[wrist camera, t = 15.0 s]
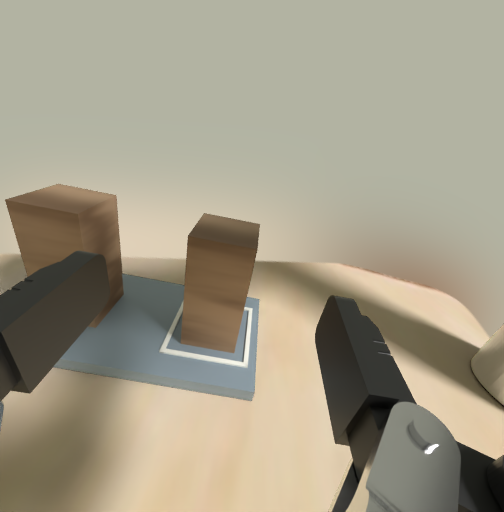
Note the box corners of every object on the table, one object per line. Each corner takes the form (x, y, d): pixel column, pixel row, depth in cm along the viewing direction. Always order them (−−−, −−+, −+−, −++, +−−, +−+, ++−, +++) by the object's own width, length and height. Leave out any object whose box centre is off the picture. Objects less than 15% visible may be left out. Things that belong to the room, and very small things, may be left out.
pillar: (194, 307, 27) (204, 213, 22) (239, 316, 27) (259, 224, 22) (180, 343, 23) (187, 235, 18) (234, 353, 23) (257, 249, 18)
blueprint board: (80, 273, 30) (78, 264, 30) (257, 306, 31) (259, 298, 31) (-20, 354, 20) (-25, 342, 19) (251, 400, 21) (254, 391, 20)
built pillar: (77, 285, 27) (58, 183, 22) (123, 294, 27) (116, 195, 22) (39, 317, 22) (5, 199, 17) (95, 327, 23) (77, 213, 17)
